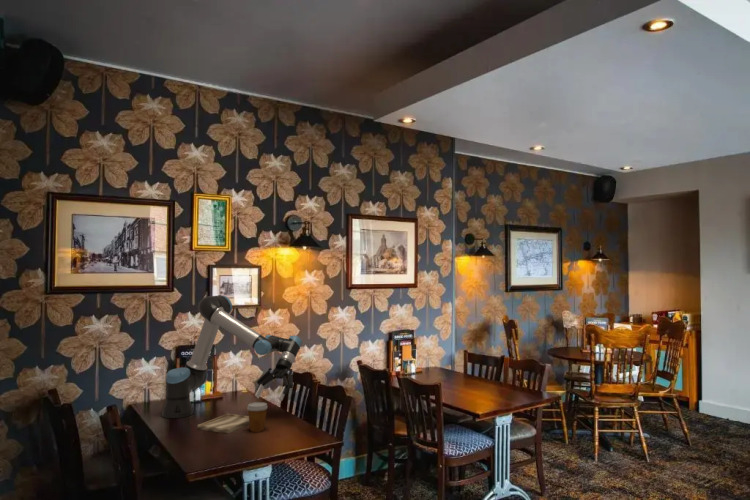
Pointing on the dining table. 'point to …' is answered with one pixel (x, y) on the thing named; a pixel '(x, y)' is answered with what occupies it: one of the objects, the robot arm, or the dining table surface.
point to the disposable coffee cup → (257, 416)
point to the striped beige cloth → (225, 423)
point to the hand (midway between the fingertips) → (268, 398)
